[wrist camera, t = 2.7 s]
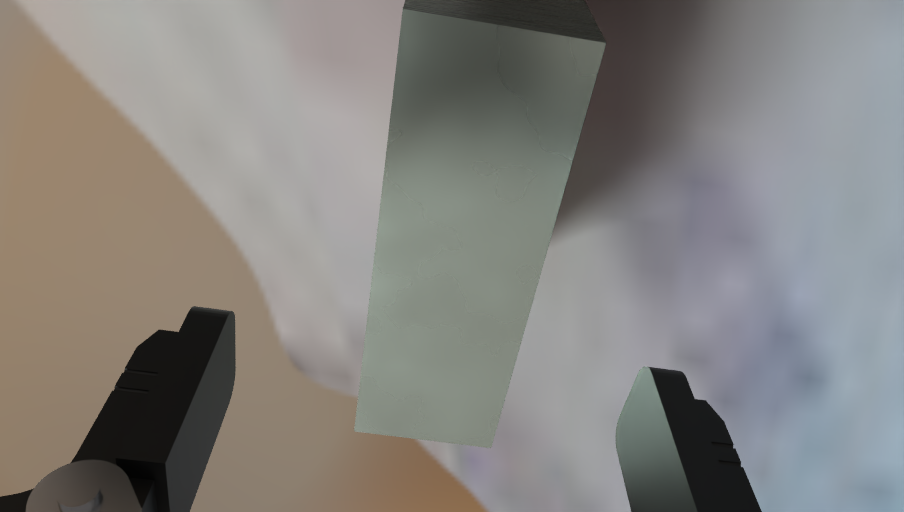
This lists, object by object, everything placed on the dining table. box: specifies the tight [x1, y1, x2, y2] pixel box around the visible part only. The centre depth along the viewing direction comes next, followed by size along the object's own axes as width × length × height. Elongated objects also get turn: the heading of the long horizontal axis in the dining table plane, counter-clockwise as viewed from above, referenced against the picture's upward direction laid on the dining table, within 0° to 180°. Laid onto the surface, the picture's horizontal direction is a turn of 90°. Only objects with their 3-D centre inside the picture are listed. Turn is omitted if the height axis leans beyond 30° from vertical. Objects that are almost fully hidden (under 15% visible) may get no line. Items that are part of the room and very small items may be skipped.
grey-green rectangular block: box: [354, 0, 606, 448], centre depth 21 cm, size 4×12×9 cm, turn 171°
